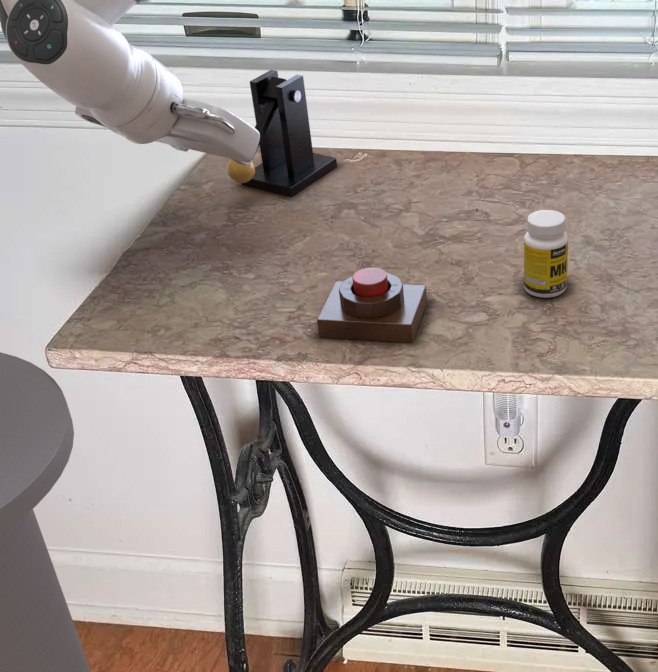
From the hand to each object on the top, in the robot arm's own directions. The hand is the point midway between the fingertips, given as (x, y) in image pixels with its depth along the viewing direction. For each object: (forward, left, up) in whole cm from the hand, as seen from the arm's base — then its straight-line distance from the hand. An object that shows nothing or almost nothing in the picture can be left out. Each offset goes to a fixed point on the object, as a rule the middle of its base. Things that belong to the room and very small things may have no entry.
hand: (215, 151), depth 140 cm
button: (0, -32, -5) cm, 32 cm away
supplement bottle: (+18, -39, -9) cm, 44 cm away
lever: (+9, +4, -2) cm, 10 cm away
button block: (0, -32, -9) cm, 33 cm away
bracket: (+12, +5, -9) cm, 16 cm away
